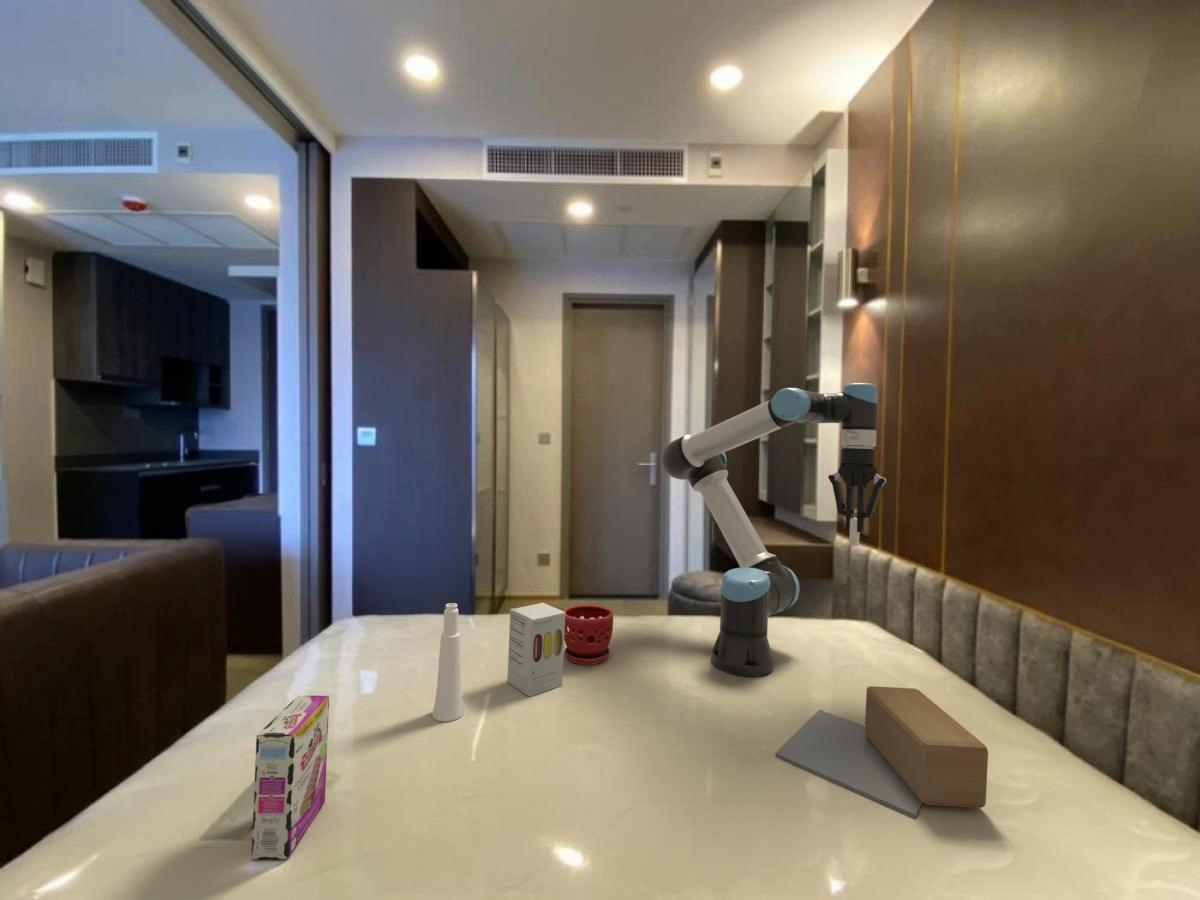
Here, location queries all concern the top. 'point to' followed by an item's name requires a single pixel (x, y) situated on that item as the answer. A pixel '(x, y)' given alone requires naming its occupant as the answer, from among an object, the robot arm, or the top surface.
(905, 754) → the wooden block
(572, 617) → the plant pot
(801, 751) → the mat
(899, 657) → the top surface
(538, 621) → the supplement box
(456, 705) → the cosmetic bottle
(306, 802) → the candy bar box
